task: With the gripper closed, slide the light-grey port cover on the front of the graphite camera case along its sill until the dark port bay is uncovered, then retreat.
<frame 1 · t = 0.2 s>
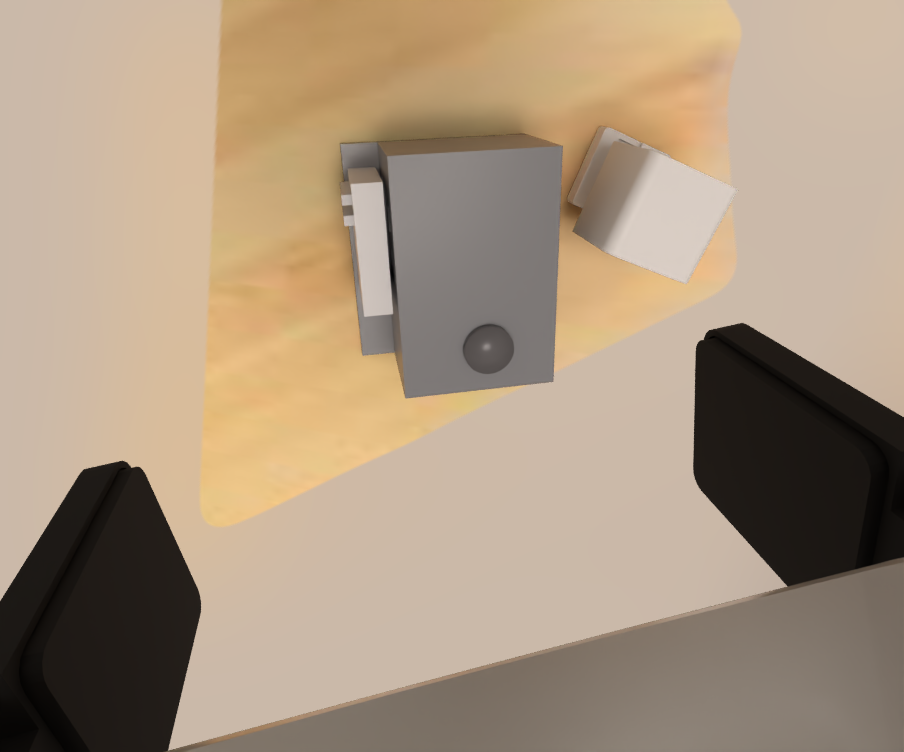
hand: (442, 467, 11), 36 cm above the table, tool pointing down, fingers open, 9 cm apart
door: (365, 239, 40), point 4 cm above the table, slide at 0.0 cm
white rounded housing: (608, 187, 46), on the table
camera case: (455, 248, 46), on the table
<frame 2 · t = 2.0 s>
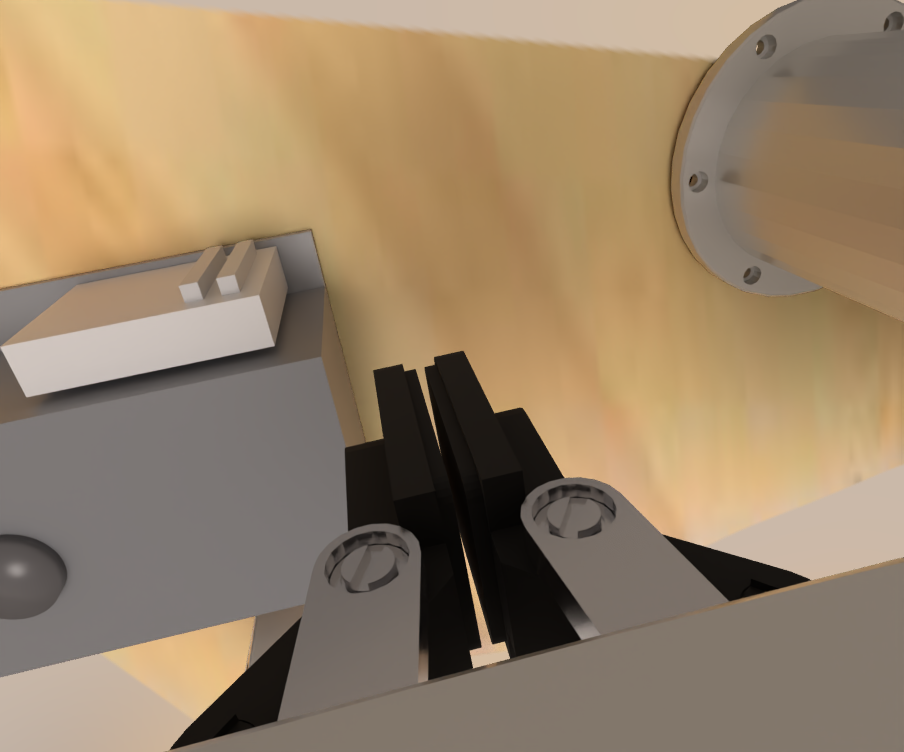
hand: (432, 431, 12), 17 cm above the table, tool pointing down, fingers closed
door: (163, 304, 23), point 4 cm above the table, slide at 0.0 cm
white rounded housing: (326, 581, 35), on the table
camera case: (190, 418, 29), on the table
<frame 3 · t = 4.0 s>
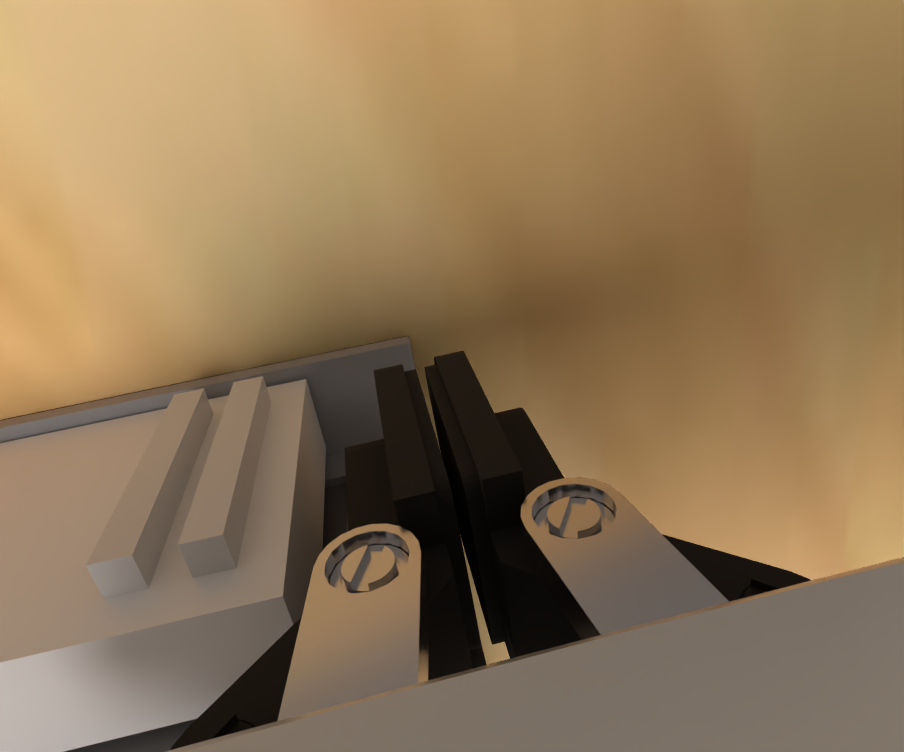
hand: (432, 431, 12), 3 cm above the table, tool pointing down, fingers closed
door: (77, 537, 11), point 4 cm above the table, slide at 0.9 cm, touching gripper
camera case: (187, 640, 17), on the table
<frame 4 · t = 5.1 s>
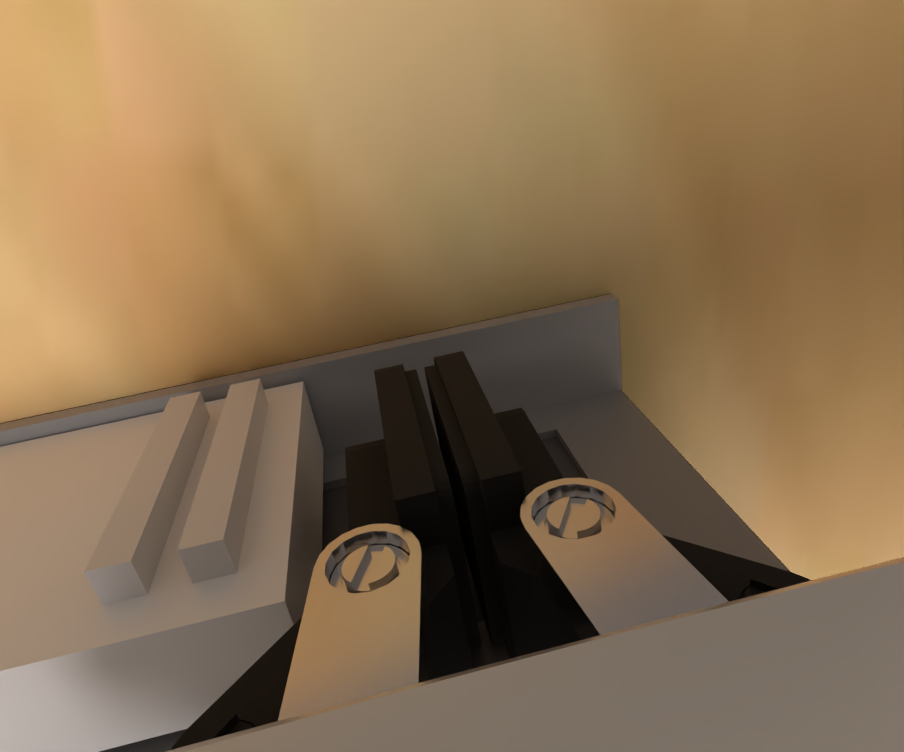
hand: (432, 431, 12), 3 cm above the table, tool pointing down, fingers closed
door: (73, 543, 11), point 4 cm above the table, slide at 5.8 cm, touching gripper
camera case: (363, 601, 17), on the table
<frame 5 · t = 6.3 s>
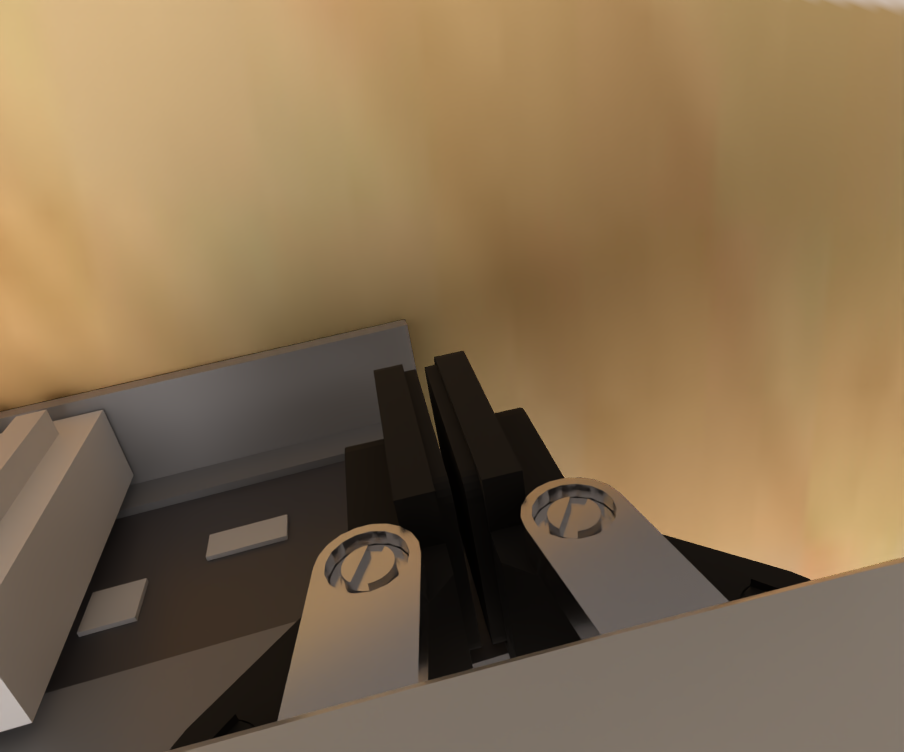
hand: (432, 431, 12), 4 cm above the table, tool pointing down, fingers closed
camera case: (192, 623, 18), on the table
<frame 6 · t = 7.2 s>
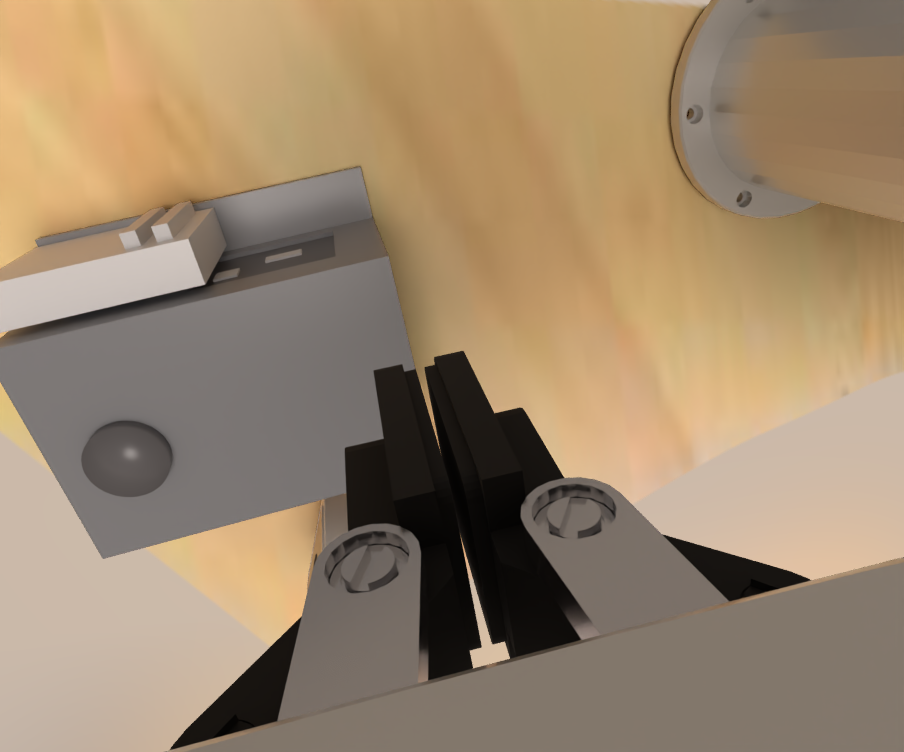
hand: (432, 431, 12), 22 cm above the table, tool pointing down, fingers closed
door: (110, 257, 26), point 4 cm above the table, slide at 5.5 cm
white rounded housing: (372, 497, 38), on the table
camera case: (254, 343, 33), on the table
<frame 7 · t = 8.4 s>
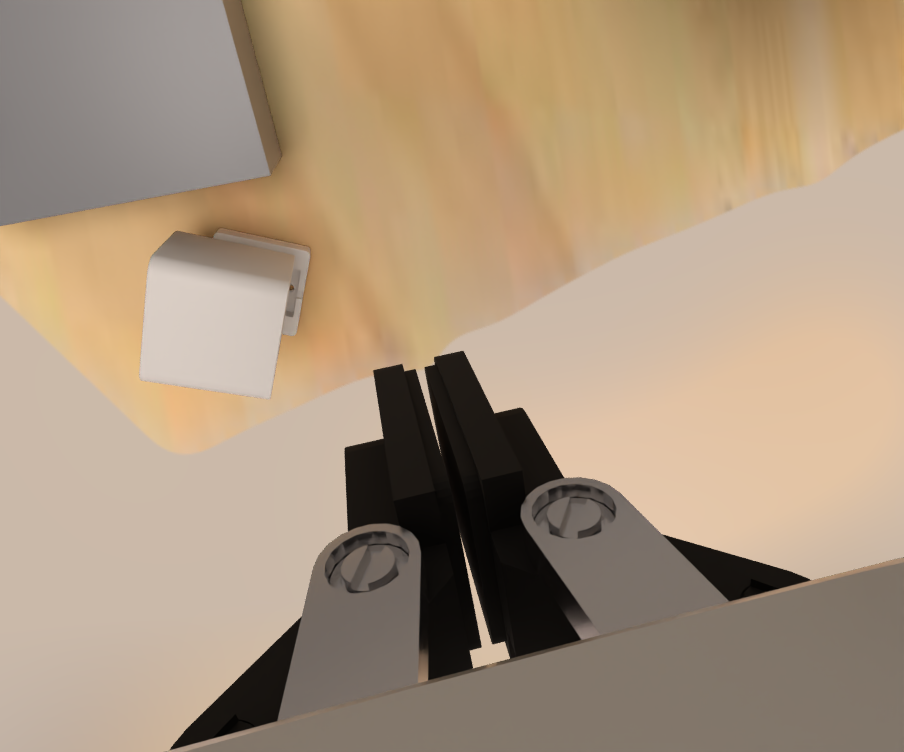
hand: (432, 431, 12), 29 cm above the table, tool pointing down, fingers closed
white rounded housing: (246, 277, 39), on the table
camera case: (113, 83, 33), on the table
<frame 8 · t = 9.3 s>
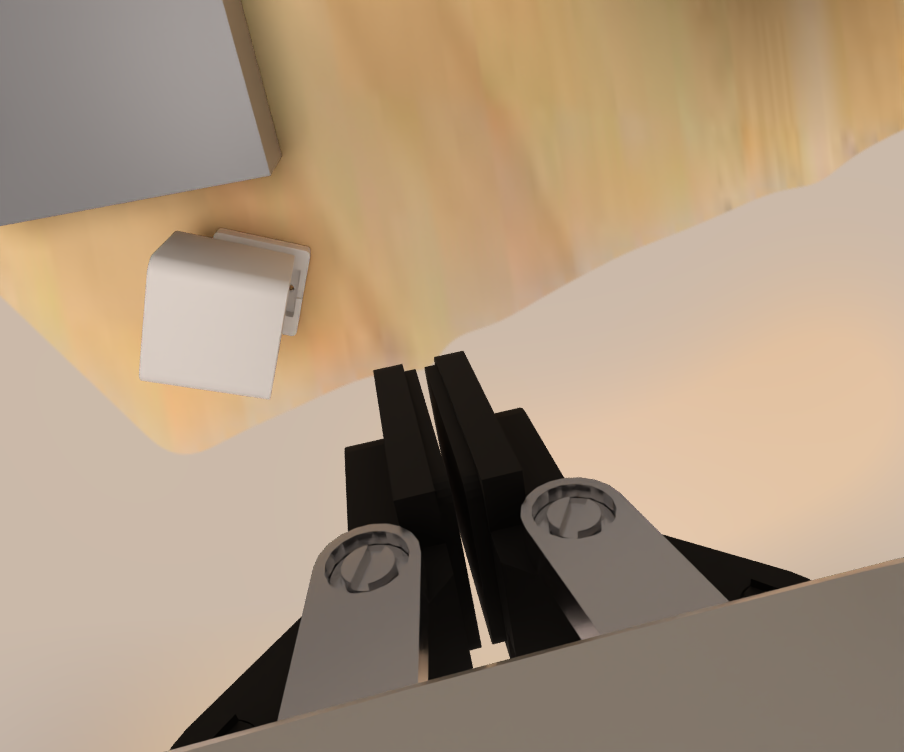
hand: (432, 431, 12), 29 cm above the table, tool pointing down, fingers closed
white rounded housing: (246, 277, 39), on the table
camera case: (113, 83, 33), on the table
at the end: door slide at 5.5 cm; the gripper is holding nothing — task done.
